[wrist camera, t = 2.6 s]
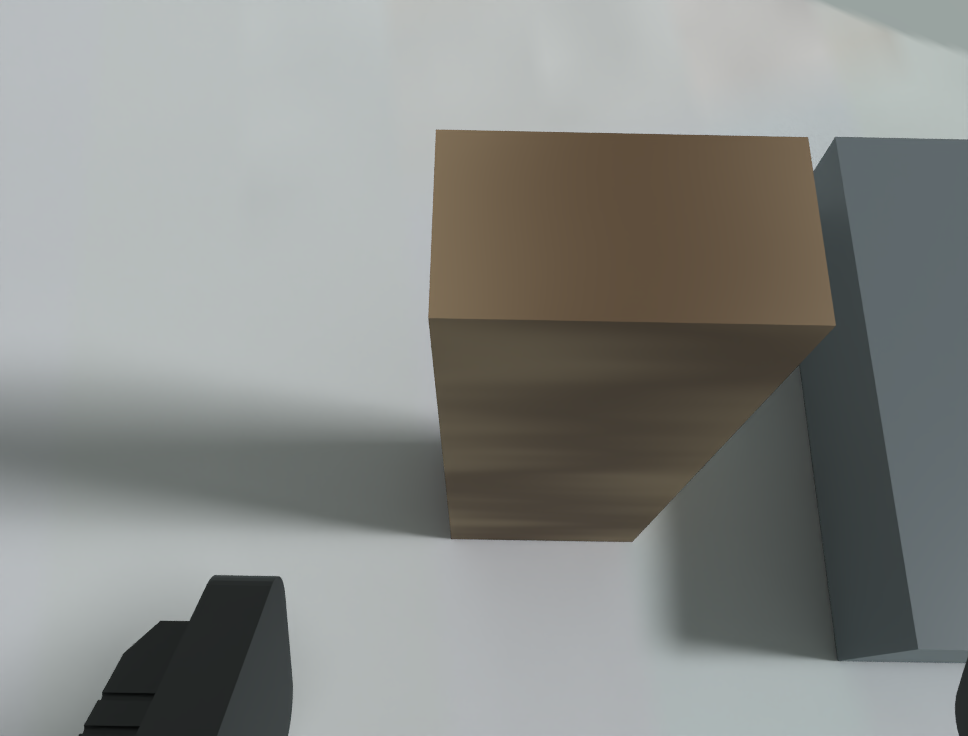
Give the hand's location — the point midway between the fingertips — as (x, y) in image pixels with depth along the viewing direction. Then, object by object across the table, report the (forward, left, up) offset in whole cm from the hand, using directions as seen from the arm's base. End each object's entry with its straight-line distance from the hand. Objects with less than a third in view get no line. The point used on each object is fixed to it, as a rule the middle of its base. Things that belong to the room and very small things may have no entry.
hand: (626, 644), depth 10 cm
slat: (0, +5, -11) cm, 12 cm away
